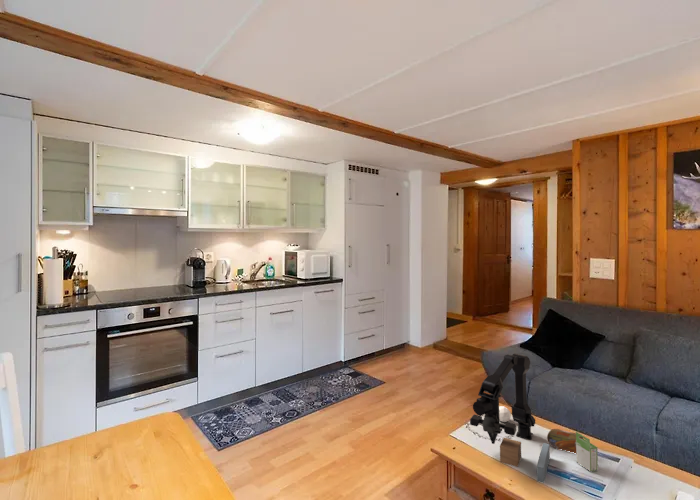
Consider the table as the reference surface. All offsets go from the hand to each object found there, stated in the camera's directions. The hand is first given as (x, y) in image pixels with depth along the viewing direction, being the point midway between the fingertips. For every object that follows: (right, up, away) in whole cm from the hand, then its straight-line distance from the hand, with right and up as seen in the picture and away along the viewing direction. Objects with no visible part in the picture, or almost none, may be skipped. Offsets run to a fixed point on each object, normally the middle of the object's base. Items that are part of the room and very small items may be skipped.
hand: (493, 443), depth 161 cm
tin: (+34, -4, +2) cm, 34 cm away
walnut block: (+6, -5, -4) cm, 9 cm away
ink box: (+35, -4, -11) cm, 37 cm away
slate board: (+16, -5, -11) cm, 21 cm away
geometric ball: (+17, -5, +31) cm, 35 cm away
